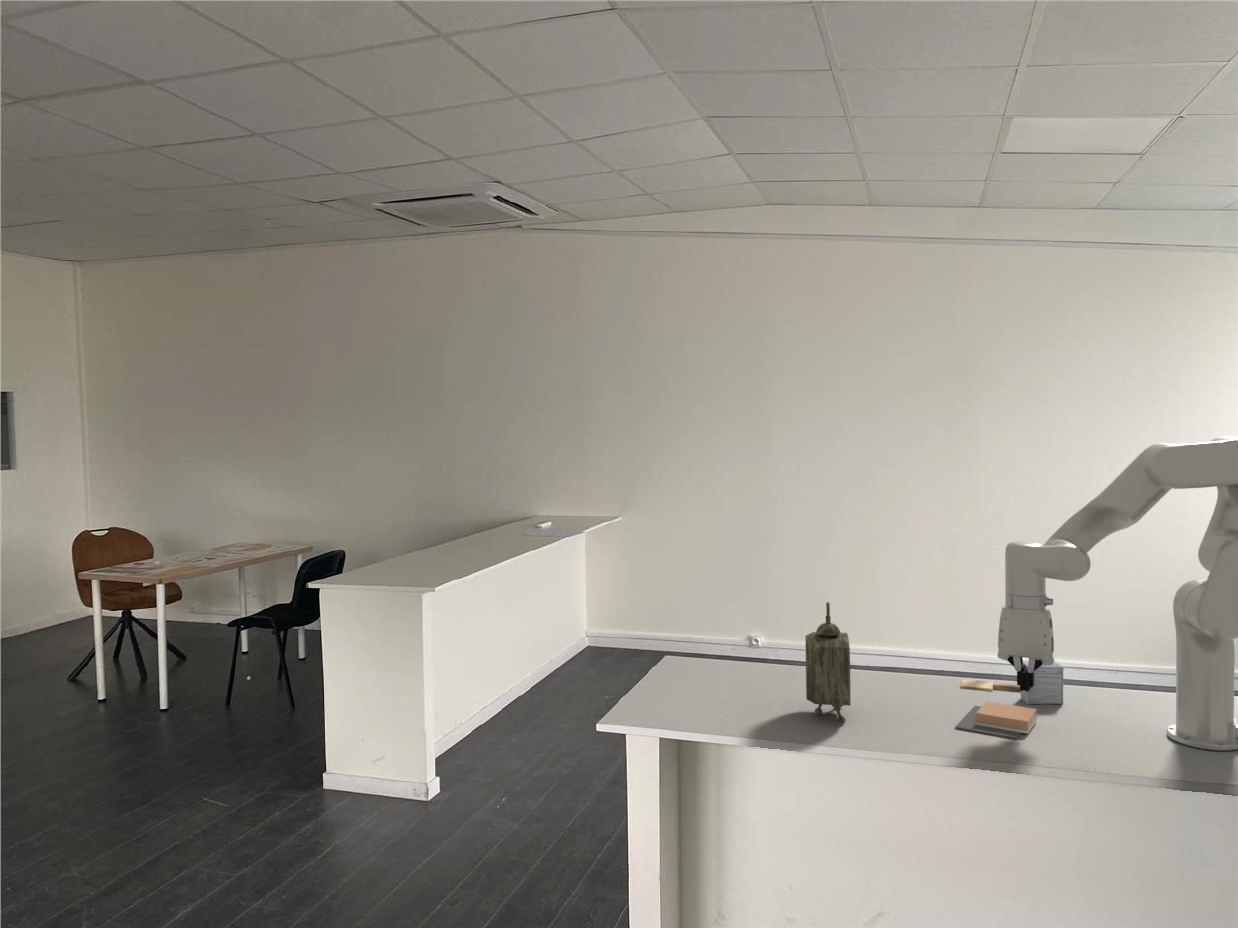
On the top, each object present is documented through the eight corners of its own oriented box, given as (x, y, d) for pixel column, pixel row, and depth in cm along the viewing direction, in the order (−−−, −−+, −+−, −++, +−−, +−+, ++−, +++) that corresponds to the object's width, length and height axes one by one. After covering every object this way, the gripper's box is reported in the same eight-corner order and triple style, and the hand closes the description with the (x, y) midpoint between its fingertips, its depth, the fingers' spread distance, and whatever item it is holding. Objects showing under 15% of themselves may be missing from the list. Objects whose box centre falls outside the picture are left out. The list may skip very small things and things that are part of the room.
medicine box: (1056, 698, 200) (1056, 661, 200) (1063, 704, 196) (1063, 666, 196) (1020, 698, 201) (1020, 661, 201) (1027, 704, 197) (1027, 666, 196)
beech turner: (1039, 688, 207) (1039, 684, 207) (1039, 695, 202) (1039, 691, 202) (962, 681, 215) (962, 677, 215) (960, 688, 210) (960, 683, 210)
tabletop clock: (850, 727, 185) (849, 610, 184) (807, 725, 187) (805, 609, 185) (847, 705, 199) (845, 596, 198) (806, 703, 201) (804, 595, 200)
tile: (1036, 709, 185) (986, 701, 191) (1027, 721, 178) (976, 712, 183) (1036, 720, 185) (986, 712, 191) (1027, 733, 178) (976, 724, 184)
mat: (1033, 716, 189) (1033, 714, 189) (1017, 739, 176) (1017, 737, 176) (974, 707, 196) (974, 705, 196) (955, 728, 183) (955, 726, 183)
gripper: (1068, 602, 179) (1068, 690, 180) (991, 595, 188) (991, 679, 189) (1062, 609, 173) (1062, 700, 174) (982, 601, 182) (983, 688, 183)
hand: (1025, 689), depth 182 cm, fingers closed
